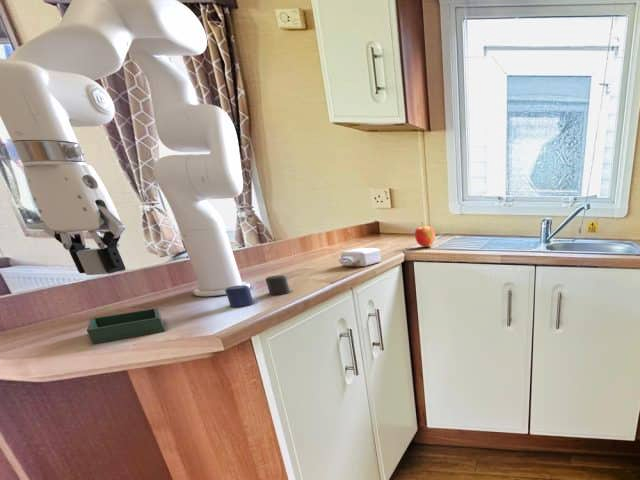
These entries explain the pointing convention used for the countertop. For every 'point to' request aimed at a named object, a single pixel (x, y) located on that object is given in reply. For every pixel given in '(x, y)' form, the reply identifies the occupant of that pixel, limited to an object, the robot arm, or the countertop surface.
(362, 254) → the charger
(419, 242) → the apple
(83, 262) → the grey cap
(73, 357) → the countertop surface
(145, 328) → the tray
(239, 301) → the navy cap
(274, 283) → the black cap
